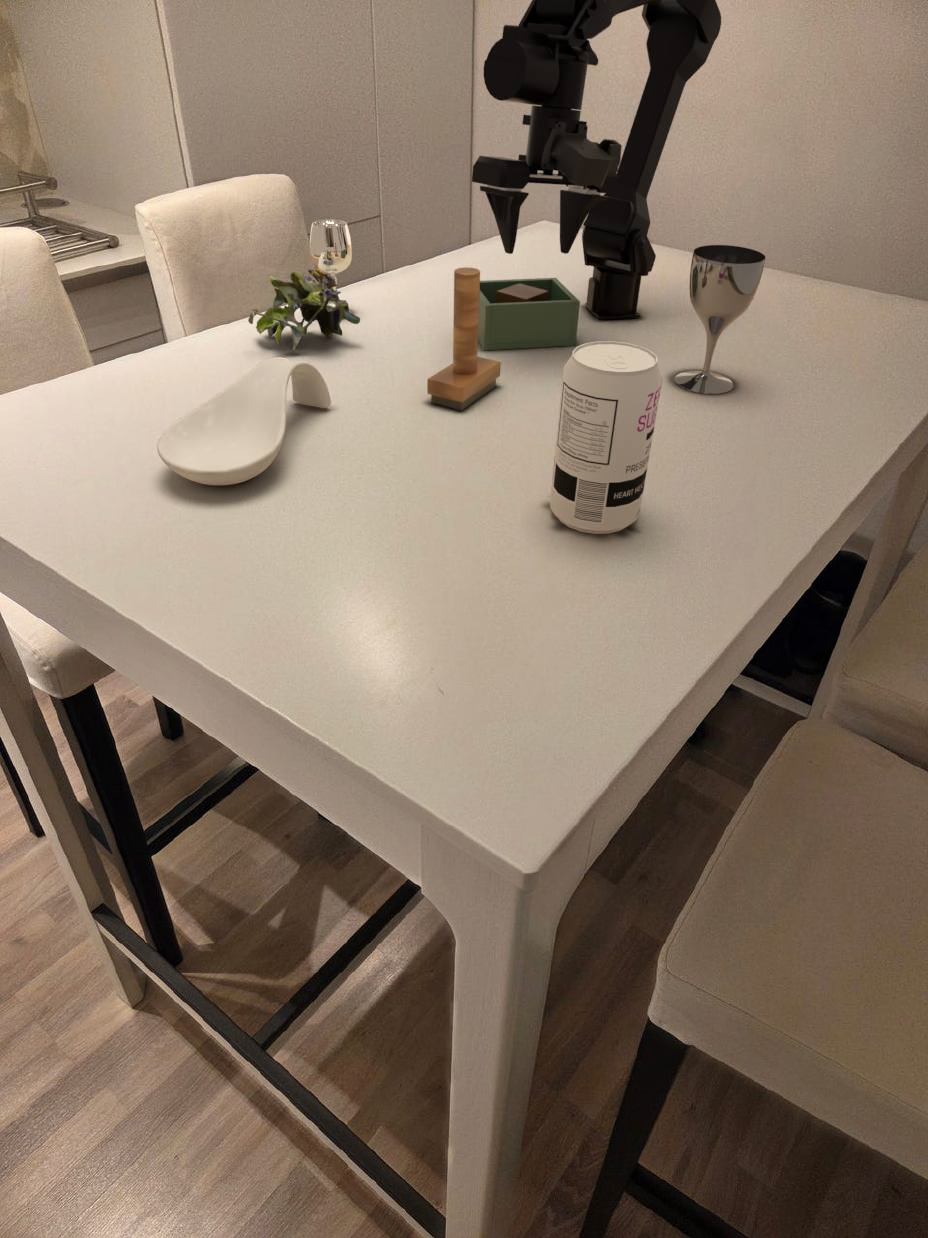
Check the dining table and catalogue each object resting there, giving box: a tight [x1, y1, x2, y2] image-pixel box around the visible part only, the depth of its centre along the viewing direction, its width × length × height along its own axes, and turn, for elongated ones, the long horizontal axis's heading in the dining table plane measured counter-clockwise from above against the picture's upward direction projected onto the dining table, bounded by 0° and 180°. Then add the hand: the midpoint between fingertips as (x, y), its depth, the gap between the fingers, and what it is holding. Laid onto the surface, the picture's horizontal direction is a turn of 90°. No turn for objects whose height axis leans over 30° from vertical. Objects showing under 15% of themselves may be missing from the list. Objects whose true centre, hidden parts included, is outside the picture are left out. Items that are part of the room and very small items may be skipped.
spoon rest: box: [156, 356, 332, 486], centre depth 87 cm, size 24×12×7 cm, turn 160°
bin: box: [478, 277, 581, 351], centre depth 116 cm, size 13×11×6 cm
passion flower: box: [247, 268, 361, 356], centre depth 111 cm, size 11×11×12 cm
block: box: [496, 283, 549, 303], centre depth 116 cm, size 5×5×5 cm
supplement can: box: [549, 340, 663, 535], centre depth 75 cm, size 8×8×15 cm
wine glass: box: [674, 244, 766, 395], centre depth 101 cm, size 8×8×15 cm
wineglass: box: [309, 219, 353, 313], centre depth 119 cm, size 6×6×12 cm
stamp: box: [426, 266, 502, 412], centre depth 97 cm, size 5×9×14 cm, turn 150°
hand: (537, 253), depth 107 cm, fingers open, 9 cm apart
